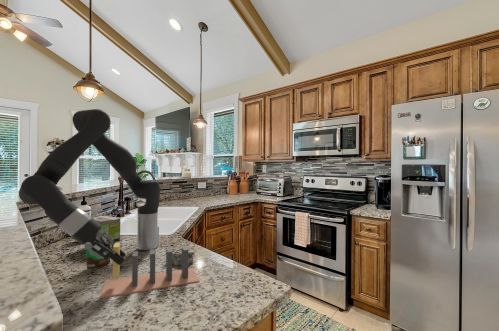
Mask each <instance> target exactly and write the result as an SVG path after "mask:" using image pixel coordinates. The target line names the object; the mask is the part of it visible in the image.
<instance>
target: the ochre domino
mask: <svg viewBox="0 0 499 331" xmlns="http://www.w3.org/2000/svg"><path fill="white" fill-rule="evenodd" d="M120 249H121V242H120V243H115V244H114V246H113V250H115V252H116V253H118V254H119V255H120ZM120 267H121V266H120V265H118V264H117V263H116V262H114V261H113V260H112V280H114V279H119V276H120V272H121V271H120Z"/></svg>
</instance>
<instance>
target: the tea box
mask: <svg viewBox="0 0 499 331" xmlns="http://www.w3.org/2000/svg"><path fill="white" fill-rule="evenodd" d="M91 217H92V216H91ZM92 218H93V219H94V220H96V221H97V222H98V223H99V224H101V225H102V228H101V229H100V230H99V231H98V232H100V233H101V234H103V233H106V234H107V235H108V236H110V237H112V239H113V240H114V241H115V242H116V243H120V244H121V218H120V217H114V216H110V215H100V216H94V217H92ZM85 244H91V243H90V242H89V241H88V242H86V243H85ZM85 244H84V245H85Z"/></svg>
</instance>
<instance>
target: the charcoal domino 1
mask: <svg viewBox="0 0 499 331" xmlns="http://www.w3.org/2000/svg"><path fill="white" fill-rule="evenodd" d="M138 256H139V251H138V250H136V251H132V257H131V258H132V260H131V277H132V287H136V286H137V284H138V276H139V271H138V270H139V269H138V268H139V257H138Z"/></svg>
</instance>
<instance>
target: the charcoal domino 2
mask: <svg viewBox="0 0 499 331" xmlns="http://www.w3.org/2000/svg"><path fill="white" fill-rule="evenodd" d="M155 273H156V248H155V249H151V250H149V274H150V284H154V283H155Z"/></svg>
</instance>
